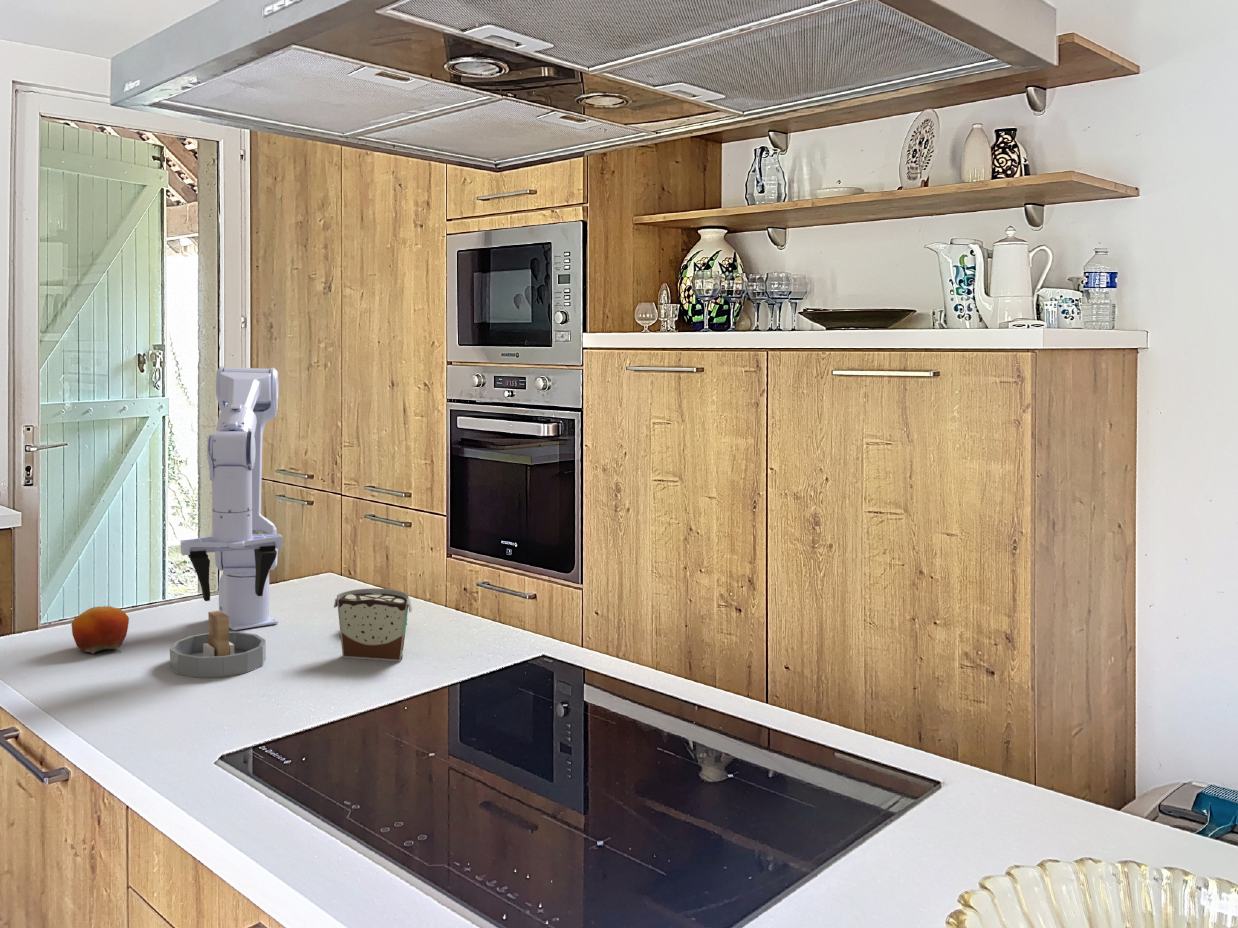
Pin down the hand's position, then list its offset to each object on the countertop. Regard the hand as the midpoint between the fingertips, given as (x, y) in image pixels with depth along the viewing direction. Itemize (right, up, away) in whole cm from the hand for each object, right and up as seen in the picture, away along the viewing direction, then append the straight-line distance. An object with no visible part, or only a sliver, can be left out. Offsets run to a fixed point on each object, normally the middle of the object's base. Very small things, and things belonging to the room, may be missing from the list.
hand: (233, 596), depth 161 cm
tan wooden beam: (-2, -9, -1) cm, 10 cm away
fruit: (-22, -9, +4) cm, 24 cm away
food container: (+21, -10, +7) cm, 24 cm away
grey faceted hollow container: (-2, -10, -1) cm, 10 cm away
